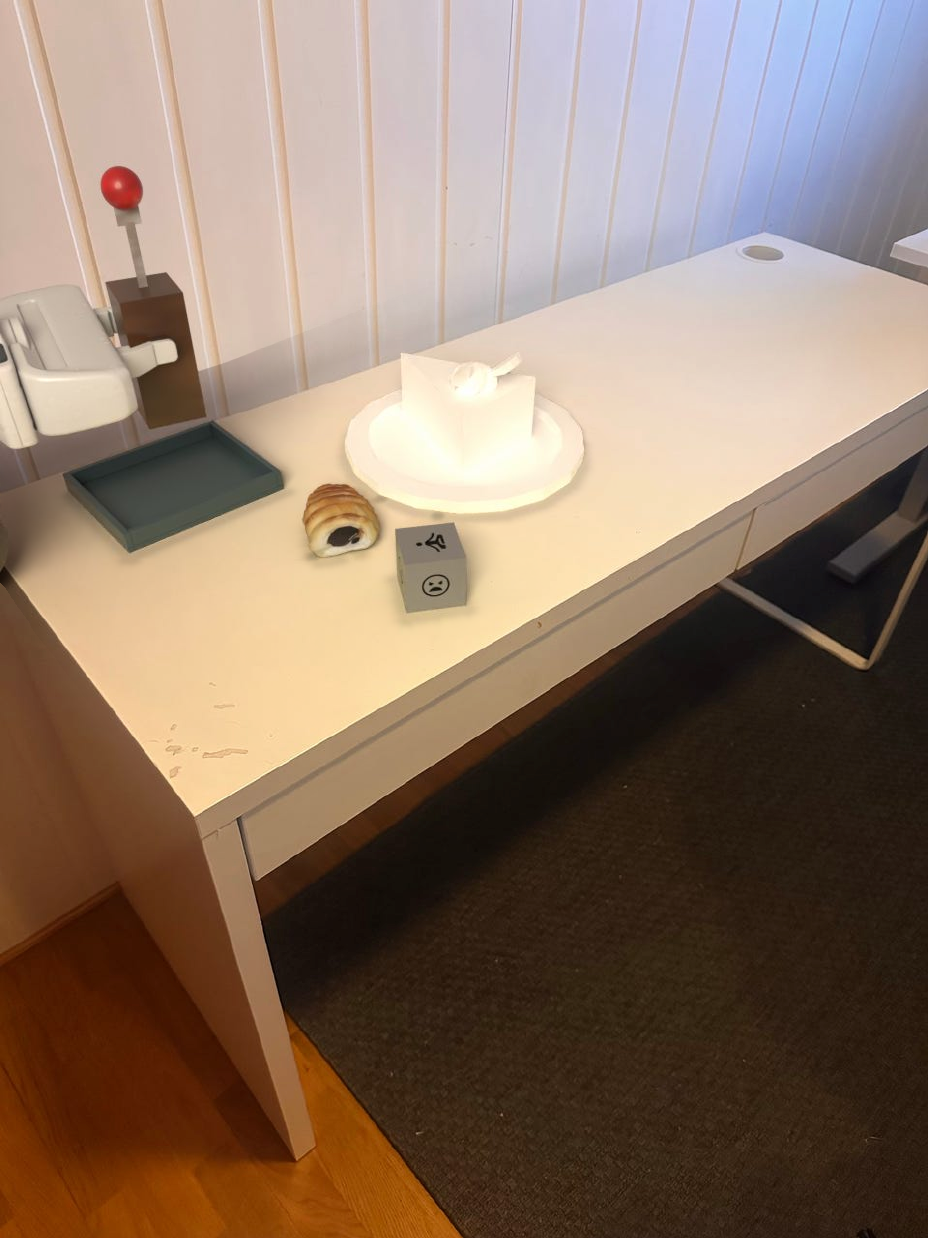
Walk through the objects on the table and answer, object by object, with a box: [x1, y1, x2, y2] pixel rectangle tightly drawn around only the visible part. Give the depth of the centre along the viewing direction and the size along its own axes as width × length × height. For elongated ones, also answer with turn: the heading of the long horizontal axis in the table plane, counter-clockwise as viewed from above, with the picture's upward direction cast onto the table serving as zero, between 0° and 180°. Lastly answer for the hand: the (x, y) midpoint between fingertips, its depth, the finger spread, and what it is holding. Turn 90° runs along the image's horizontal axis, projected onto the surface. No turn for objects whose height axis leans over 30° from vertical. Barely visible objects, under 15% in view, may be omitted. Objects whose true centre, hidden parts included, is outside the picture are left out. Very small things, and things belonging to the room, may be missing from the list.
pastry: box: [301, 483, 381, 558], centre depth 82 cm, size 9×7×4 cm
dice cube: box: [394, 522, 468, 614], centre depth 75 cm, size 5×5×5 cm
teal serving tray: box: [62, 419, 285, 554], centre depth 87 cm, size 16×13×2 cm
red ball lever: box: [99, 165, 207, 430], centre depth 73 cm, size 5×5×20 cm
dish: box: [344, 351, 585, 515], centre depth 90 cm, size 25×25×11 cm
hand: (164, 332), depth 75 cm, fingers closed on red ball lever, 5 cm apart
